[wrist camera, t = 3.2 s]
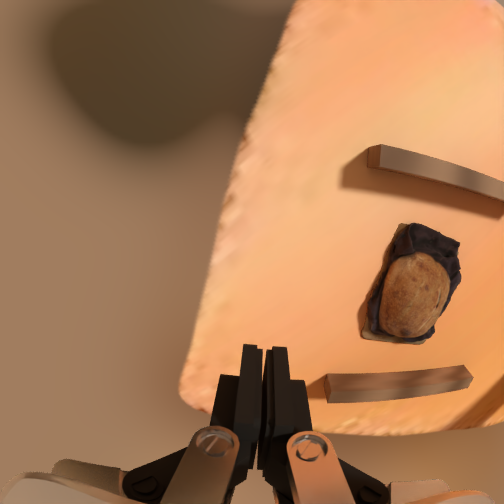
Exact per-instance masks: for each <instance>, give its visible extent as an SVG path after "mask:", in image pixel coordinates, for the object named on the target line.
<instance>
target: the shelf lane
mask: <svg viewBox="0 0 504 504" xmlns="http://www.w3.org/2000/svg"><path fill="white" fill-rule="evenodd" d="M367 167H370V168H375V169H380V170H385V171H390V172H395V173H400V174H404V175H409V176H413V177H418V178H422V179H426V180H430V181H434V182H438V183H442V184H445V185H449V186H453V187H456V188H460V189H463V190H467V191H470V192H473V193H477V194H480V195H483V196H486V197H489V198H492V199H495V200H498V201H501V202H504V182H502V181H500V180H497V179H495V178H492V177H490V176H487V175H484V174H482V173H479V172H476V171H474V170H471V169H468V168H465V167H462V166H459V165H456V164H453V163H450V162H447V161H443V160H440V159H437V158H433V157H430V156H426V155H423V154H419V153H415V152H412V151H408V150H404V149H400V148H395V147H391V146H387V145H382V144H380V145H376V146H372V147H369V151H368V163H367ZM473 378H474V377H473V376H472V375H471V374H470V372H469V371H468V370H467V369H466V367H465V366H464V365H460V366H453V367H446V368H437V369H428V370H418V371H406V372H391V373H366V374H327V377H326V380H325V383H324V388H325V393H326V398H327V403H356V402H373V401H386V400H396V399H405V398H413V397H421V396H428V395H434V394H440V393H445V392H451V391H456V390H461V389H465V388H468V387H469V385H470V383H471V381H472V379H473Z"/></svg>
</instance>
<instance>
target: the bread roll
mask: <svg viewBox="0 0 504 504" xmlns="http://www.w3.org/2000/svg"><path fill="white" fill-rule="evenodd" d="M459 246H460V242H457V241H456V240H454V239H452V238H449V237H446V236H444V235H442V234H441V233H440V232H437V231H436V230H433V229H431V228H429V227H427V226H424V225H422V224H417V223H411V224H410V225H407V224H403V223H401V224H399V226H398V228H397V230H396V232H395V234H394V237H393V239H392V242H391V245H390V247H389V250H388V251H387V255H386V258H385V260H384V262H383V265H382V269H381V272H380V275H379V279H378V280H377V284H376V289H372V294H371V298H370V300H369V301H368V304H367V308H368V310H367V313H366V314H367V315H366V321H365V324H364V327H363V329H362V337H363V338H365V339H370V340H380V341H386V342H397V343H408V344H419V345H420V344H423V343H424V342H425V341H426V339H429V338H430V337H431V336H432V334H434V333H435V328H434V324H435V322H436V321H437V319H438V318H439V317H440V316H441V314H442V313H443V312H444V311H445V309H446V307H447V305H448V303H449V302H450V300H451V296H452V294H453V292H454V290H455V289H456V287H457V286H458V284H459V283H460V282H461V274H460V271H459V270H460V269H461V268H460V265H459V259H458V258H457V255H458V247H459Z"/></svg>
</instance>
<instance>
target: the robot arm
mask: <svg viewBox="0 0 504 504" xmlns="http://www.w3.org/2000/svg"><path fill="white" fill-rule="evenodd" d="M262 356H263V349H257V345H250V344H243V352H242V360H241V368H240V376H233V375H224V374H221V375H220V378H219V383H218V387H217V392H216V397H215V402H214V406H213V411H212V416H211V421H210V426H207V427H204V428H201V429H200V430H198V431H197V432H196V433H195V434H194V435H193V437H192V439H191V441H190V443H189V445H188V447H186V448H184V449H181V450H179V451H177V452H174V453H172V454H170V455H168V456H165V457H163V458H161V459H158V460H156V461H153V462H151V463H148V464H146V465H143V466H141V467H138V468H135V469H133V470H131V471H122V470H121V469H120V468H116V467H108V466H102V465H96V464H91V463H86V462H81V461H76V460H72V459H63V460H59V461H58V462H57V463H56V464H55V465H54V467H53V469H52V473H51V474H50V473H43V472H23V473H20V474H18V475H16V476H15V477H14V478H12V479H11V480H10V481H9V482H8V483H7V484H6V485H5V487H4V488H3V489H2V490H1V492H0V504H230V503H231V500H232V497H233V493H234V490H235V486H236V485H238V484H240V483H241V482H243V481H244V480H246V477H247V472H248V469H253V465H254V459H255V454H256V449H257V443H258V460H257V469H258V470H263V477H265V481H267V482H268V483H269V484H270V485H271V486H273V494H274V500H275V504H495V502H494V501H493V500H492V498H491V497H490V496H488V495H487V494H485V493H484V492H481V491H473V490H460V491H452V492H450V490H449V487H448V485H447V484H446V483H445V482H444V481H442V480H438V479H432V480H422V481H407V482H391V483H390V484H383V483H381V482H380V481H379V480H377V479H375V478H372V477H371V476H369V475H367V474H365V473H363V472H362V471H360V470H358V469H356V468H355V467H353V466H351V465H349V464H348V463H346V462H344V461H343V460H341V459H339V458H337V456H336V453H335V451H334V448H333V446H332V444H331V442H330V441H329V439H328V438H327V437H326V436H324V435H322V434H320V433H318V432H313V430H312V423H311V417H310V410H309V404H308V398H307V391H306V385H305V381H304V380H290V372H289V362H288V353H287V347H276V346H273V347H272V350H267V351H266V359H265V366H264V373H263V380H262Z"/></svg>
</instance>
